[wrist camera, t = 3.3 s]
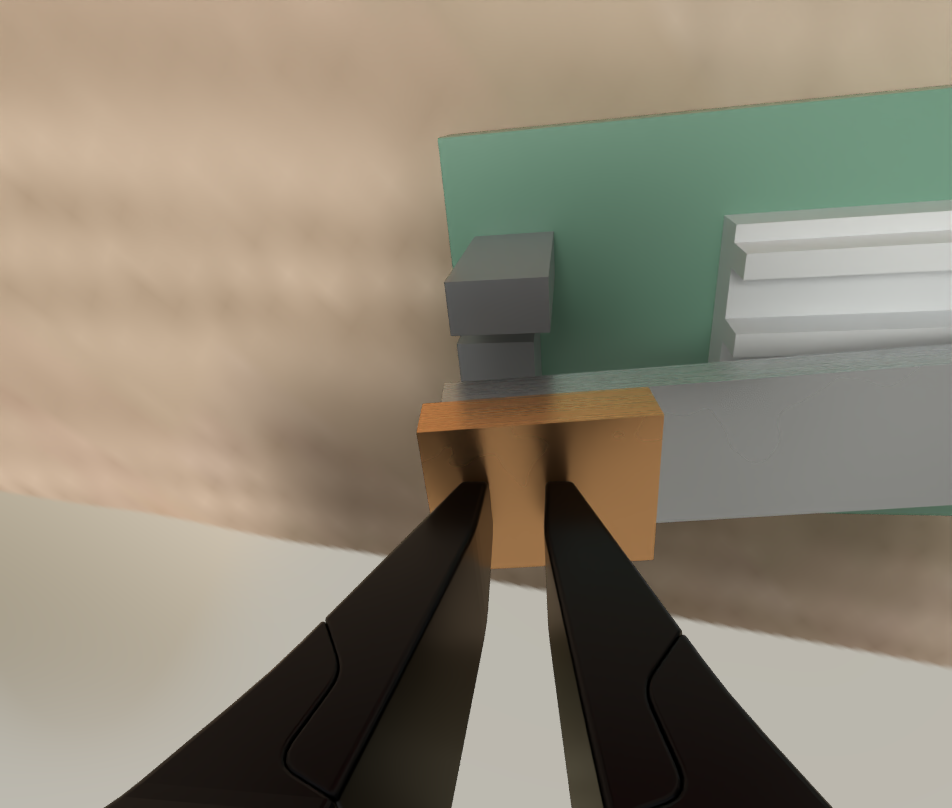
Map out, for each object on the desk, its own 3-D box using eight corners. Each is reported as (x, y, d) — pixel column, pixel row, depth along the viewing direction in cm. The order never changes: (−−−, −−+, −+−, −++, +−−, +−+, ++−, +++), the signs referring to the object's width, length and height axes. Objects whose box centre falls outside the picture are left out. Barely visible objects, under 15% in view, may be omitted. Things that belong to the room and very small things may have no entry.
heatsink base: (1515, 28, 10) (2438, -36, 5) (1210, 490, 14) (1528, 686, 10) (448, 134, 13) (378, 158, 8) (485, 482, 18) (454, 625, 13)
